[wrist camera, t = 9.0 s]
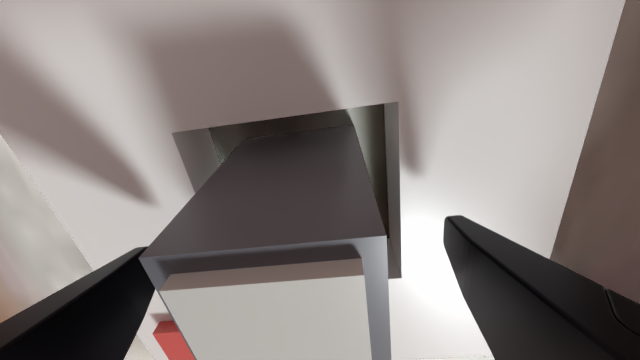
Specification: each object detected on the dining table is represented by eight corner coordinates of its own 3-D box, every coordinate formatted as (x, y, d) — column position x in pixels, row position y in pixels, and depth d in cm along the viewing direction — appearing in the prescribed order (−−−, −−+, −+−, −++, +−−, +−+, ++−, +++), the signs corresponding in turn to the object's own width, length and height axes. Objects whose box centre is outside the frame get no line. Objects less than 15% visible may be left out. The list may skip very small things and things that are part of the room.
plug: (353, 124, 11) (391, 251, 4) (361, 218, 13) (396, 404, 6) (244, 138, 11) (123, 274, 5) (268, 227, 13) (207, 411, 7)
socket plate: (584, -156, 7) (740, -278, 5) (493, 308, 15) (529, 367, 12) (-14, -31, 9) (-168, -65, 6) (185, 329, 17) (157, 385, 14)
